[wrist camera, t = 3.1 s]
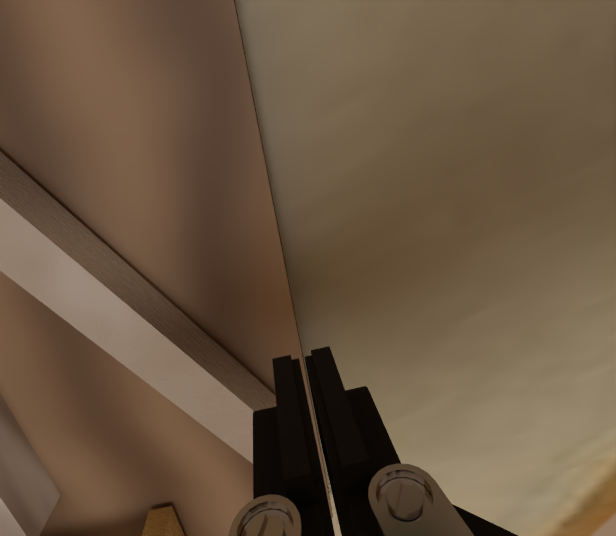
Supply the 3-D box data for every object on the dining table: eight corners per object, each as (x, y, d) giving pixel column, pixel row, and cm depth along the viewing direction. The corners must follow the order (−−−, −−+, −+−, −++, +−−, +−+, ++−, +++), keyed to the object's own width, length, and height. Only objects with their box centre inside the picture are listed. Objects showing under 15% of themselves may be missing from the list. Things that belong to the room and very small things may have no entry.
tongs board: (214, -102, 13) (195, -192, 9) (328, 493, 24) (340, 563, 20) (-358, -21, 12) (-639, -82, 8) (37, 554, 23) (-6, 639, 19)
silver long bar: (-141, 14, 11) (-259, -16, 9) (292, 402, 19) (297, 449, 16) (-190, 74, 12) (-318, 63, 9) (252, 431, 19) (250, 481, 16)
